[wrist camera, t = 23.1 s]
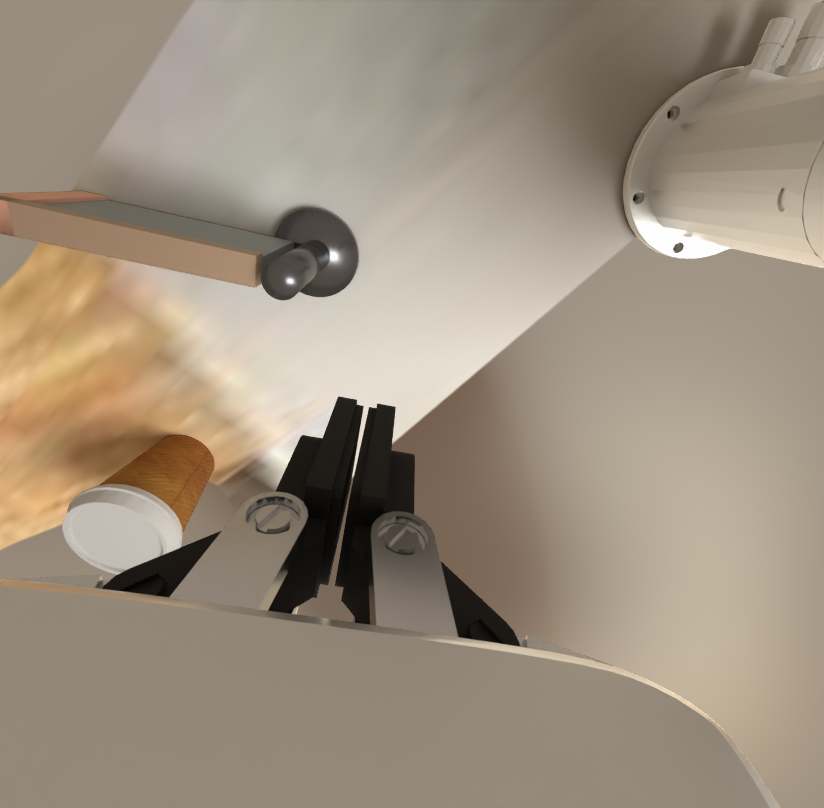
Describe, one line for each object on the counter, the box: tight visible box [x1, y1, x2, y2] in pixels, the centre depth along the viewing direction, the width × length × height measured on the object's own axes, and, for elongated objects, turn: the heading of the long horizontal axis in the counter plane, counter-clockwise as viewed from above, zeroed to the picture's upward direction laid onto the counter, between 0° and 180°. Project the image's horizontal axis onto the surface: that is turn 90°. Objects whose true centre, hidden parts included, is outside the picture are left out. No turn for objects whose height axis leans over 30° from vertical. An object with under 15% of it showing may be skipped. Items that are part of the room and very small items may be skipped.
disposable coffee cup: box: [62, 435, 214, 574], centre depth 41 cm, size 10×10×12 cm
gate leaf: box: [0, 191, 294, 288], centre depth 30 cm, size 16×2×9 cm, turn 78°
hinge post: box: [261, 209, 359, 300], centre depth 31 cm, size 7×7×11 cm
